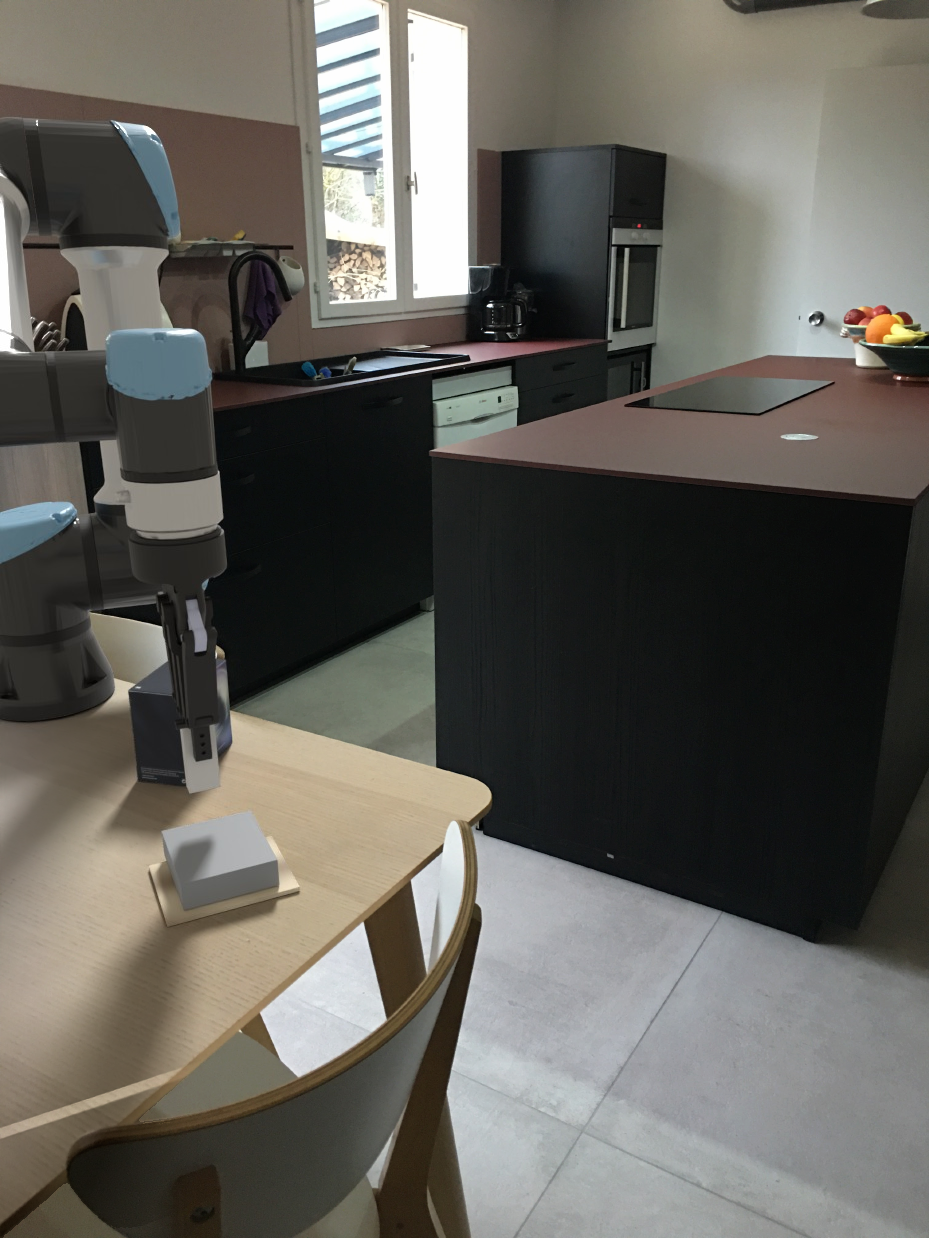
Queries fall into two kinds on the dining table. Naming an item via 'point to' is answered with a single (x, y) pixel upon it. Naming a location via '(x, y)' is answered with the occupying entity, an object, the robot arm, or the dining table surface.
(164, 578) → the robot arm
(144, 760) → the small box
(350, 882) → the dining table surface
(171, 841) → the grey square slab
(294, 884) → the cork mat
